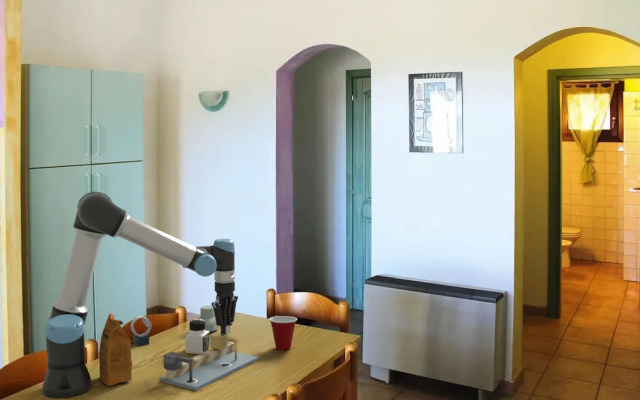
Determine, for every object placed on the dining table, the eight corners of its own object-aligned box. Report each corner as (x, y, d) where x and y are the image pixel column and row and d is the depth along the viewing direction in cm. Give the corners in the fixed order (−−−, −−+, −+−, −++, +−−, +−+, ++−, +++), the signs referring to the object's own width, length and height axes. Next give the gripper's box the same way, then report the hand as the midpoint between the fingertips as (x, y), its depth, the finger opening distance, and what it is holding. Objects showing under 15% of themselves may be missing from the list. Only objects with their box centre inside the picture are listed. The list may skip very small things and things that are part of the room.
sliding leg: (233, 360, 243) (233, 340, 242) (210, 355, 248) (210, 335, 248) (240, 357, 246) (240, 337, 245) (217, 352, 252) (217, 332, 251)
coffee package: (125, 371, 237) (123, 310, 235) (135, 382, 226) (133, 319, 224) (96, 376, 232) (94, 314, 230) (104, 388, 221) (102, 323, 219)
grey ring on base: (154, 343, 267) (153, 316, 266) (134, 347, 263) (133, 319, 261) (148, 339, 272) (147, 313, 271) (129, 343, 267) (128, 316, 266)
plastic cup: (298, 343, 267) (298, 314, 265) (295, 353, 256) (295, 322, 255) (271, 343, 268) (271, 313, 267) (267, 352, 257) (266, 321, 256)
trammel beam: (188, 383, 223) (187, 360, 222) (164, 377, 228) (163, 354, 227) (250, 354, 251) (250, 333, 251) (227, 348, 257) (227, 329, 256)
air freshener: (212, 335, 278) (211, 311, 277) (193, 333, 280) (192, 310, 279) (221, 327, 289) (221, 304, 288) (203, 326, 291) (203, 303, 290)
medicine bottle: (203, 354, 254) (202, 323, 253) (185, 353, 256) (184, 322, 254) (210, 348, 261) (209, 318, 260) (192, 347, 263) (192, 317, 261)
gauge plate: (196, 390, 220) (196, 387, 219) (160, 381, 228) (160, 377, 228) (258, 360, 248) (258, 356, 248) (224, 352, 257) (224, 349, 257)
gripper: (221, 285, 242) (222, 349, 245) (243, 278, 253) (244, 339, 256) (205, 283, 246) (206, 345, 248) (227, 276, 257) (228, 336, 260)
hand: (225, 342), depth 252 cm, fingers closed
